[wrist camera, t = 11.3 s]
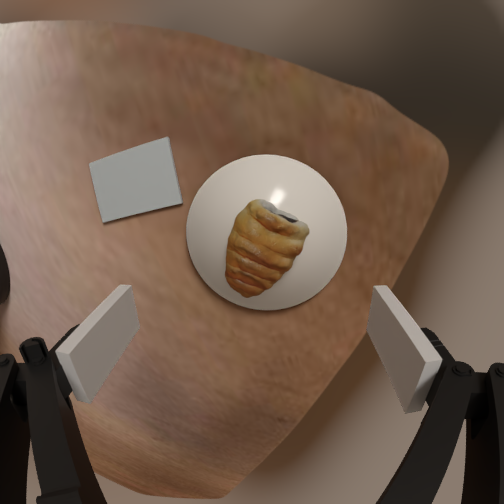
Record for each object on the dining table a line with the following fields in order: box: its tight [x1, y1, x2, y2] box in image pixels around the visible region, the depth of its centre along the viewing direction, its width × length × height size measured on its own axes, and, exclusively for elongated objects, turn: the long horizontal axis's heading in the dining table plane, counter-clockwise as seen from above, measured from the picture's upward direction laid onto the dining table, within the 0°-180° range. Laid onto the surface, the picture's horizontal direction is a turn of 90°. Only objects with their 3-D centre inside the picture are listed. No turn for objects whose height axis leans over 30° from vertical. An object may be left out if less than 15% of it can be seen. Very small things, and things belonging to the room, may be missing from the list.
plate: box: [186, 155, 347, 310], centre depth 30 cm, size 16×16×1 cm
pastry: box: [225, 199, 309, 298], centre depth 28 cm, size 9×7×4 cm
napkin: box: [89, 137, 183, 223], centre depth 30 cm, size 10×7×1 cm
